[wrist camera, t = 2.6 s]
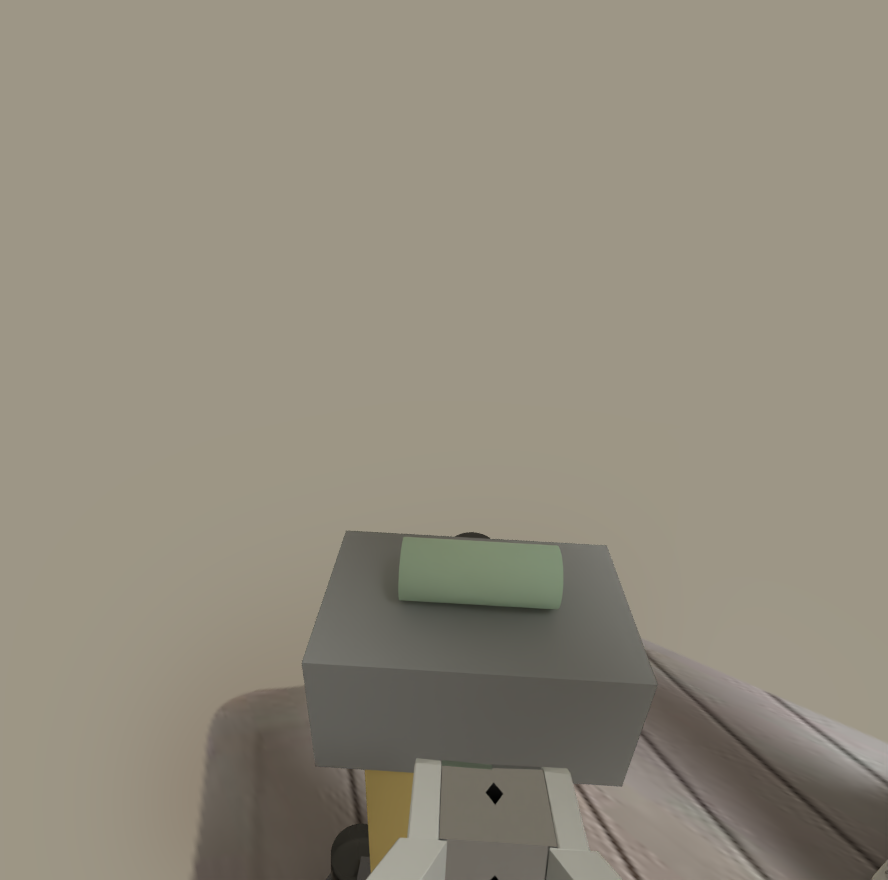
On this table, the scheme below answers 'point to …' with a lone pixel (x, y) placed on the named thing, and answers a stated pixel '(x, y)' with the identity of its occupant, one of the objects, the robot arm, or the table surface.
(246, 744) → the table surface
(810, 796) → the table surface
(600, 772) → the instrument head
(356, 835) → the levelling base
